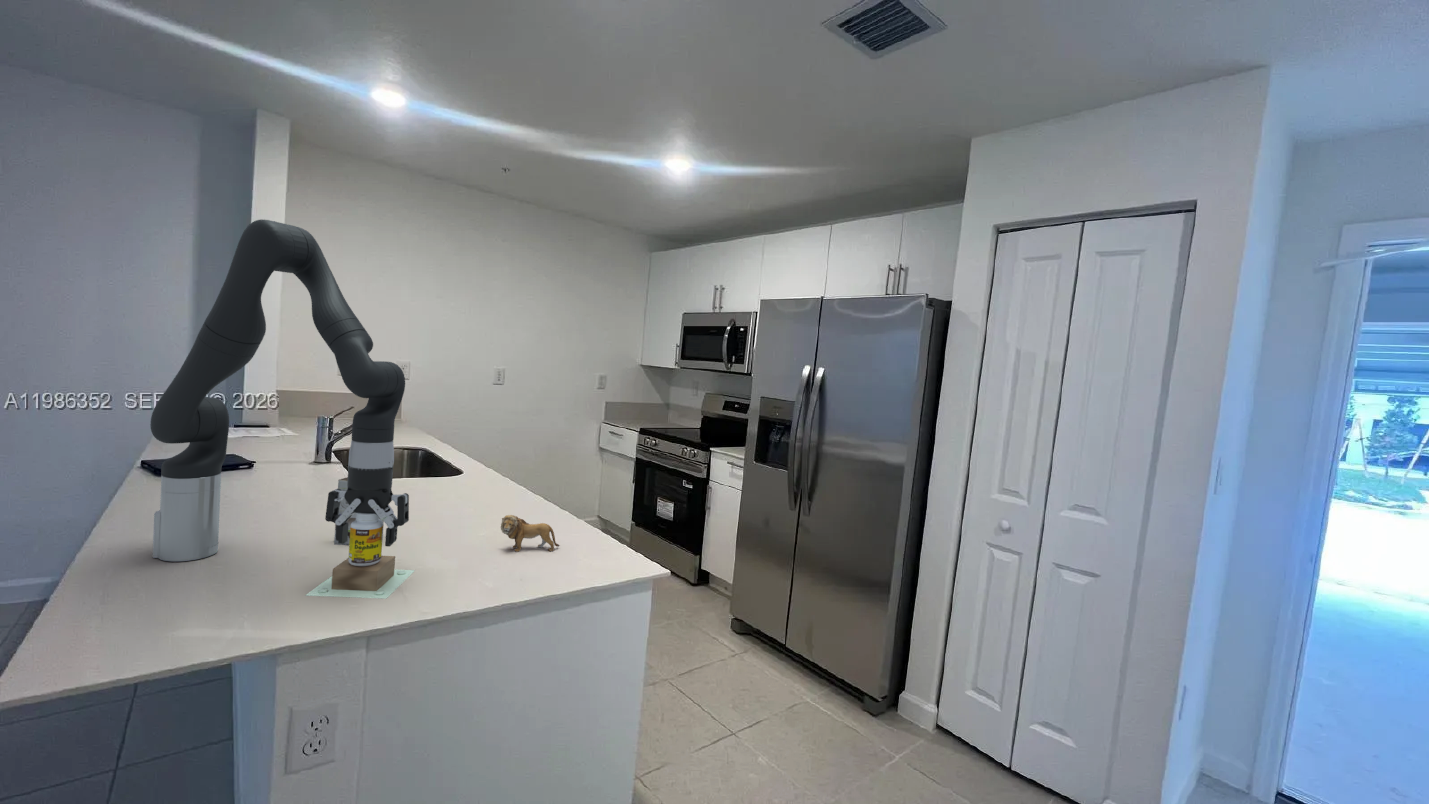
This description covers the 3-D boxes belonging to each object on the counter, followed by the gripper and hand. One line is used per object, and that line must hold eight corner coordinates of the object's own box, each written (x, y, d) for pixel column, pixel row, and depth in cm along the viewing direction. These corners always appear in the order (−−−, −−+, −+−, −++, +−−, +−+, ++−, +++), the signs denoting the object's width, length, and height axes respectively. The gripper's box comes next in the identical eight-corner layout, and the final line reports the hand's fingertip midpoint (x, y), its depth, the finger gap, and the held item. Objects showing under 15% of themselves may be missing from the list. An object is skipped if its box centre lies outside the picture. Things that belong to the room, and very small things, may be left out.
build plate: (304, 601, 104) (305, 593, 104) (343, 572, 118) (343, 565, 118) (386, 604, 106) (386, 596, 106) (414, 575, 120) (415, 568, 120)
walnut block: (331, 589, 108) (332, 568, 107) (352, 573, 115) (353, 554, 115) (376, 591, 109) (377, 570, 108) (394, 575, 117) (395, 556, 116)
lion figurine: (499, 554, 137) (502, 518, 136) (497, 547, 142) (500, 512, 141) (561, 551, 143) (564, 516, 143) (557, 544, 148) (560, 510, 148)
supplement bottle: (348, 569, 108) (351, 516, 107) (348, 558, 113) (350, 508, 112) (382, 565, 111) (385, 514, 110) (380, 556, 116) (383, 507, 115)
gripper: (321, 464, 106) (316, 548, 107) (402, 469, 108) (396, 552, 109) (341, 456, 113) (337, 535, 114) (417, 462, 115) (412, 539, 116)
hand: (366, 544), depth 112 cm, fingers open, 8 cm apart
